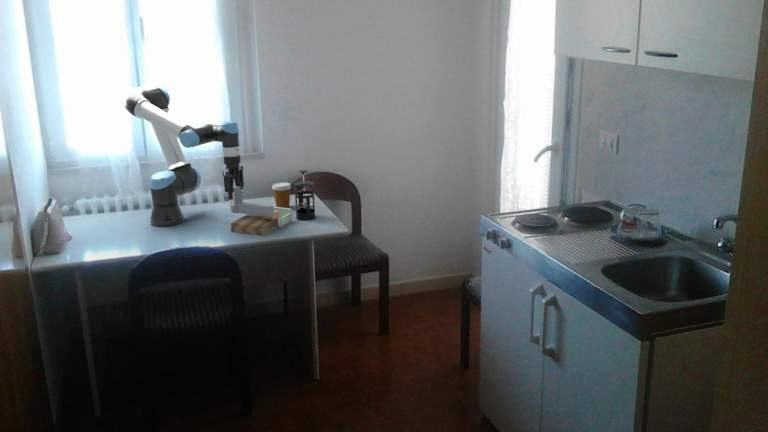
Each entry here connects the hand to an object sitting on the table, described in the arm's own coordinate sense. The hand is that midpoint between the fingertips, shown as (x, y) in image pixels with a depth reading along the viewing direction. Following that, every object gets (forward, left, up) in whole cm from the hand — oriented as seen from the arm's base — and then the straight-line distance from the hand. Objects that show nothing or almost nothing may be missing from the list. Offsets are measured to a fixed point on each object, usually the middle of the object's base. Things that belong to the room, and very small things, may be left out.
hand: (235, 204), depth 334 cm
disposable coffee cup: (+8, +28, -9) cm, 30 cm away
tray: (+15, +5, -9) cm, 18 cm away
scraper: (+10, -2, -3) cm, 11 cm away
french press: (+27, +17, -9) cm, 33 cm away
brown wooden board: (+14, -6, -9) cm, 18 cm away
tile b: (+19, 0, -5) cm, 20 cm away
